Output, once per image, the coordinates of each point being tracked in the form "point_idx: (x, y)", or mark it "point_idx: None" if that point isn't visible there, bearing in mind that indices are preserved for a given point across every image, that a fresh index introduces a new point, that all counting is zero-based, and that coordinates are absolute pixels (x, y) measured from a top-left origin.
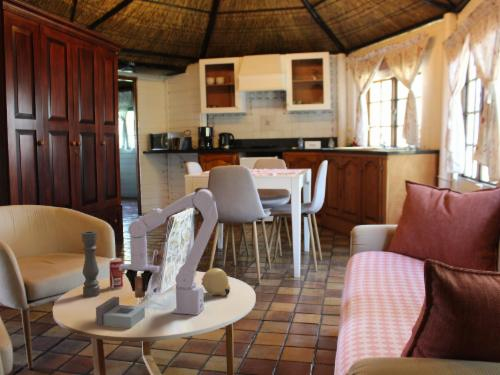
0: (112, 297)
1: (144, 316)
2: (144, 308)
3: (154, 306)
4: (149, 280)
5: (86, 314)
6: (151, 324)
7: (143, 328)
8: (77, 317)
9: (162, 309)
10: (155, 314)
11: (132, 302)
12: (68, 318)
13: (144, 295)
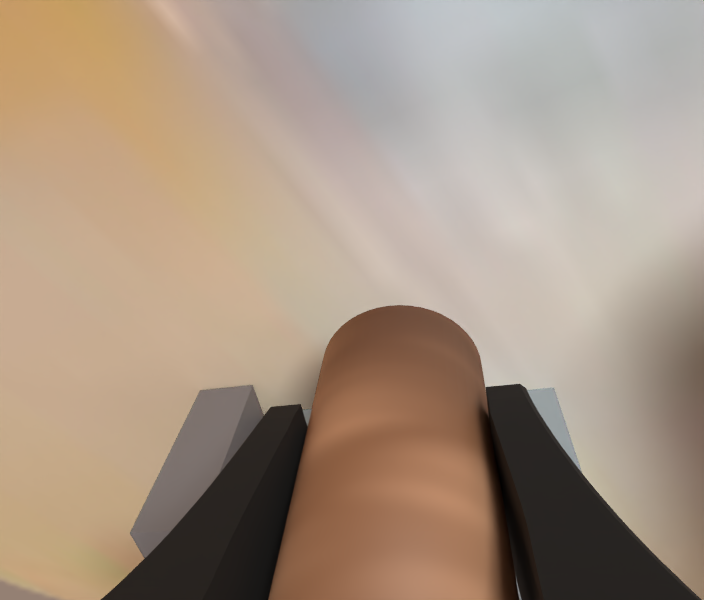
0: (145, 556)
1: (557, 401)
2: (577, 460)
3: (487, 42)
4: (634, 538)
5: (27, 471)
6: (699, 494)
7: (661, 560)
8: (33, 525)
9: (662, 109)
10: (637, 291)
11: (85, 22)
12: (2, 549)
13: (483, 378)
